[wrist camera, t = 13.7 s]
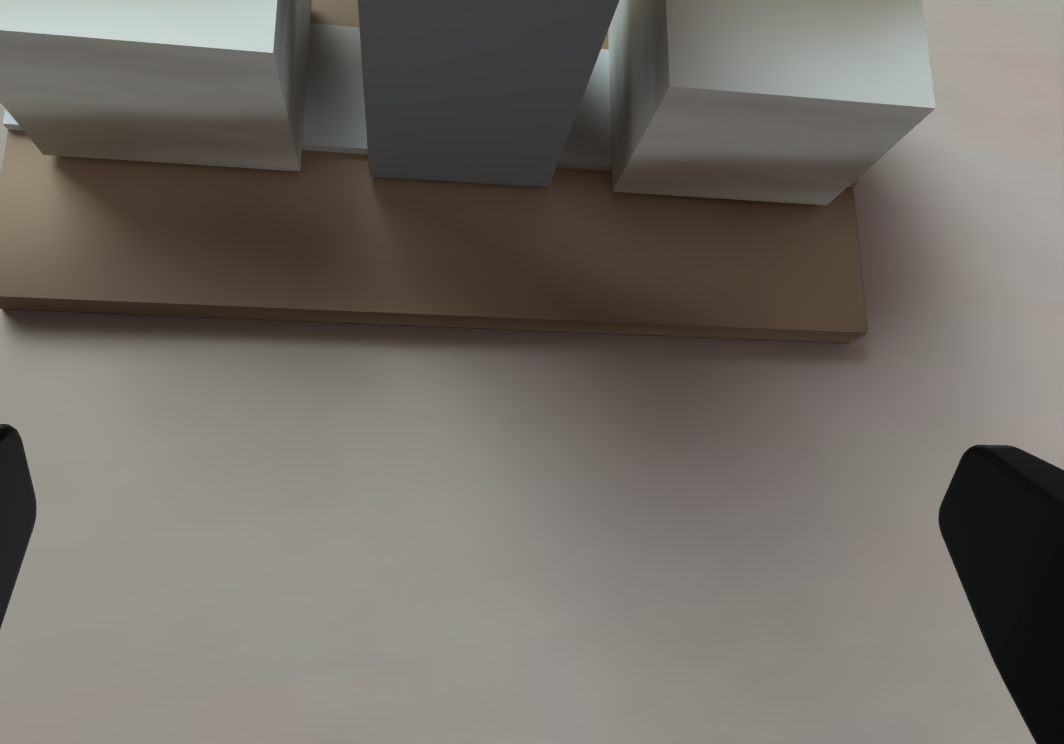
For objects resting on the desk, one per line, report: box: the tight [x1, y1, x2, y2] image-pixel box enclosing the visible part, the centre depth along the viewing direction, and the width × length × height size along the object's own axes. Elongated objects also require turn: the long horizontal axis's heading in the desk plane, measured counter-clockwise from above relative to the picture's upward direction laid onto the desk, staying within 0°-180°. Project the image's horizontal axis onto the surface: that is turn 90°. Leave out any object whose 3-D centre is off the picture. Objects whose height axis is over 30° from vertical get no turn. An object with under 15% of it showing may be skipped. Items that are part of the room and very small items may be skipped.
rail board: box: [0, 0, 935, 343], centre depth 21 cm, size 12×22×6 cm, turn 90°
